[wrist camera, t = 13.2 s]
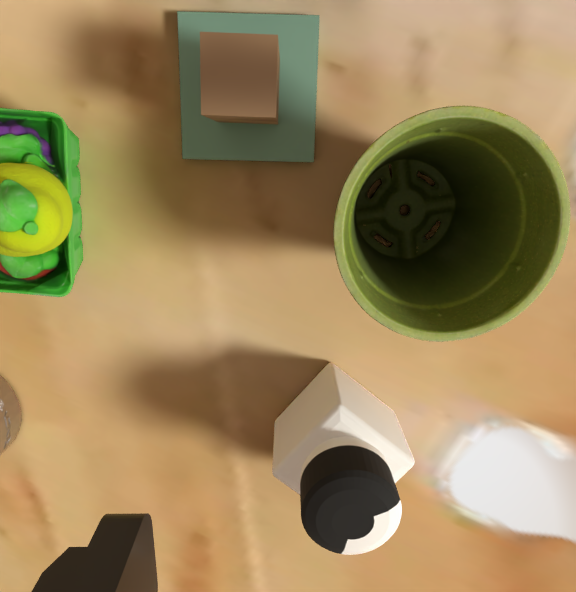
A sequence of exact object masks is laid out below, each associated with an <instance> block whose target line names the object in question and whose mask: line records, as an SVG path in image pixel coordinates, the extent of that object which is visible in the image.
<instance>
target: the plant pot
mask: <svg viewBox="0 0 576 592" xmlns="http://www.w3.org/2000/svg"><path fill="white" fill-rule="evenodd" d="M389 164H391V165H392V166H391V167H392V177H391V176H390V172H389ZM418 171H420V172H421V173H422V174H424V175H427V176H428V177H430V178H431V179H432V180H433V181H434V182H435V185H434V186H431V185H430V184H429V183H427V182H426V181H425V180H423V179H421V178H420V177H418V176H417V174H418ZM378 179H381V180H382V184H381V185H380V187H379V188H378V189H377V190H376V192H375V193H374V195H373V197H372V198H371V199H370V198H369V197H368V196H367V192H368V190H369V189H370V187H371V186H372V184H373V183H374V182H375V181H376V180H378ZM403 205H407V206H409V208H410V212H409V213H408V214H407V215H401V214H400V207H401V206H403ZM436 221H440V222H441V224H440V226H439V228H438V230H437V232H435V234H434V235H433V236H432V237H431V238H430V239H429V240H427V239H426V238H425V235H426V234H427V233H428V232H429V231H430V229H431V228H432V227H433V226H434V225H435V224H436V223H435V222H436ZM569 226H570V202H569V194H568V188H567V184H566V181H565V177H564V174H563V172H562V170H561V167H560V165H559V163H558V161H557V159H556V158H555V156H554V154H553V153H552V151H551V150H550V149H549V147H548V146H547V145H546V144H545V142H544V141H543V140H542V139H541V138H540V137H539V136H538V135H537V134H536V133H535V132H533V131H532V130H531V129H530V128H528V127H527V126H526V125H524V124H523V123H521V122H520V121H518V120H516V119H515V118H513V117H510V116H508V115H506V114H503V113H500V112H497V111H494V110H490V109H487V108H481V107H475V106H451V107H443V108H437V109H433V110H429V111H426V112H423V113H420V114H418V115H415V116H413V117H411V118H408V119H406V120H404V121H402V122H401V123H399V124H397V125H396V126H394V127H393V128H391V129H390V130H388V131H387V132H385V133H384V134H383V135H382V136H380V137H379V138H378V139H377V140H376V141H375V142H374V143H373V144H372V145H371V146H370V147H369V148H368V149H367V150H366V151H365V152H364V153H363V155H362V156H361V157H360V158H359V160H358V161H357V163H356V164H355V165H354V167H353V169H352V170H351V172H350V174H349V176H348V177H347V179H346V182H345V184H344V186H343V188H342V191H341V194H340V197H339V200H338V204H337V208H336V213H335V219H334V232H333V237H334V249H335V255H336V260H337V264H338V267H339V270H340V273H341V276H342V278H343V280H344V282H345V284H346V286H347V288H348V290H349V291H350V293H351V294H352V296H353V297H354V299H355V300H356V301H357V303H358V304H359V305H360V306H361V308H362V309H363V310H364V311H365V312H366V313H367V314H369V315H370V316H371V317H372V318H374V319H375V320H376V321H378V322H379V323H380V324H382V325H384V326H385V327H387V328H389V329H391V330H392V331H395V332H397V333H399V334H402V335H405V336H408V337H411V338H415V339H419V340H425V341H436V342H443V341H454V340H462V339H467V338H472V337H475V336H478V335H482V334H484V333H487V332H489V331H491V330H494V329H496V328H498V327H500V326H502V325H504V324H506V323H507V322H509V321H510V320H512V319H513V318H515V317H516V316H518V315H519V314H520V313H521V312H523V311H524V310H525V309H526V308H527V307H528V306H529V305H530V304H531V303H532V302H533V301H534V300H535V299H536V298H537V297H538V296H539V295H540V294H541V292H542V291H543V290H544V288H545V287H546V286H547V284H548V283H549V281H550V280H551V278H552V277H553V275H554V273H555V271H556V269H557V267H558V265H559V263H560V261H561V258H562V256H563V253H564V250H565V246H566V243H567V238H568V234H569ZM377 233H378V234H379V235H380V236H381V237H383V238H384V239H386V240H387V241H389V242H392V245H391V246H390V247H386V246H384V245H382V244H381V243H380V242H378V241H377V240H375V239H374V236H375V235H376V234H377Z"/></svg>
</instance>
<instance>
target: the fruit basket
mask: <svg viewBox="0 0 576 592" xmlns="http://www.w3.org/2000/svg"><path fill="white" fill-rule="evenodd" d="M78 162H79V139H78V137H77V136H76V135H75V134H74V133H73V132H72V131H71V130H70V129H69V128H68V126H67V125H66V123H65V122H64V120H63V119H62V118H61V117H60V116H59V115H58V114H55V113H52V112H44V111H30V110H18V109H5V108H0V292H7V293H20V294H32V295H42V296H54V297H62V296H65V295H67V294H68V293H69V292H70V291H71V289H72V286H73V283H74V279H75V275H76V273H77V271H78V269H79V267H80V265H81V263H82V261H83V245H82V241H81V238H80V234H81V230H82V216H81V207H80V204H79V202H78V201H79V198H80V195H81V185H80V173H79V169H78V167H77V165H78Z"/></svg>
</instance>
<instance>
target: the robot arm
mask: <svg viewBox="0 0 576 592" xmlns="http://www.w3.org/2000/svg"><path fill="white" fill-rule="evenodd" d="M20 425H21V408H20V405H19V401H18V399H17V397H16V395H15V393H14V391H13V389H12V388H11V386H10V385H9V384H8V383H7V381H6V380H5V379H4V378H3V377H1V376H0V455H1V454H2V453H3V452H4V451H5V450H6V449H7V448H8V447H9V446H10V444H11V443H12V442H13V441H14V440H15V438H16V436H17V434H18V432H19V430H20ZM157 591H158V583H157V571H156V560H155V549H154V539H153V528H152V520H151V517H150V515H149V514H106V515H104V516H103V518H102V519H101V521H100V523H99V525H98V527H97V529H96V531H95V533H94V535H93V537H92V539H91V541H90V543H89V545H88V547H69V548H68V549H67V550H66V551H65V552H64V553H63V554H62V555H61V556H59V557H58V558H57V559H56V560H55V561H54V562H53V563H52V564H51V565H50V566H49V567H48V568H47V569H46V570H45V571H44V572H43V573H42V574H41V576H40V578H39V580H38V581H37V583H36V585H35V587H34V588H33V590H32V592H157Z"/></svg>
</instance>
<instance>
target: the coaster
mask: <svg viewBox="0 0 576 592" xmlns="http://www.w3.org/2000/svg"><path fill="white" fill-rule="evenodd" d="M177 14H178V42H179V71H180V99H181V128H182V157H183V159H205V160H245V161H284V162H314V144H315V118H316V92H317V65H318V39H319V15H287V14H252V13H216V12H180V11H177ZM200 32H222V33H247V34H273V35H278V42H279V54H280V73H279V110H278V124H251V123H224V122H217V121H214V120H212V119H210V118H207V117H205V116H203V115H201V81H200Z"/></svg>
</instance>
